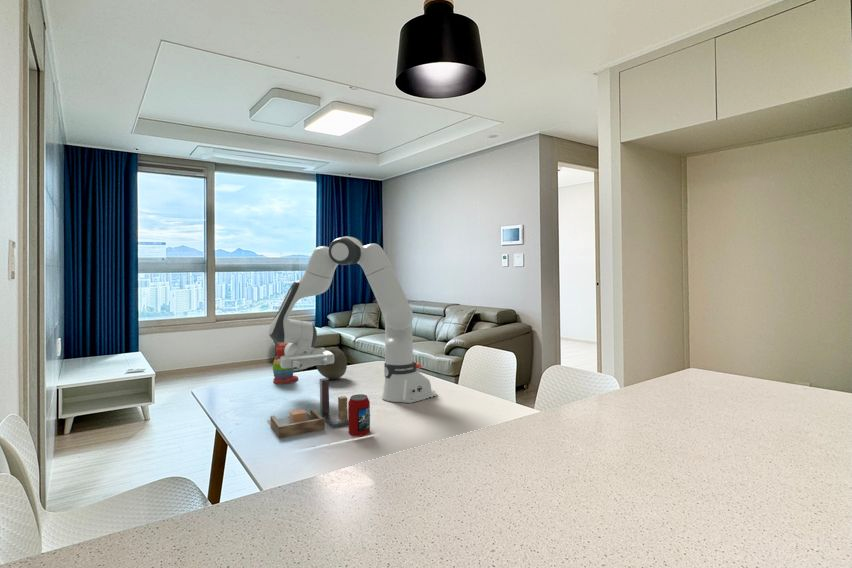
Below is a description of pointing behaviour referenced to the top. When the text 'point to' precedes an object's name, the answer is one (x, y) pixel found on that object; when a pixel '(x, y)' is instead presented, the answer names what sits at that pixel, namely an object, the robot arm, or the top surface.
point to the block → (298, 416)
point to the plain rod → (342, 407)
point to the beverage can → (359, 415)
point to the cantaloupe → (334, 365)
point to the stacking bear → (282, 373)
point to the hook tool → (325, 405)
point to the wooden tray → (297, 425)
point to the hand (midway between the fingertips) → (313, 364)
